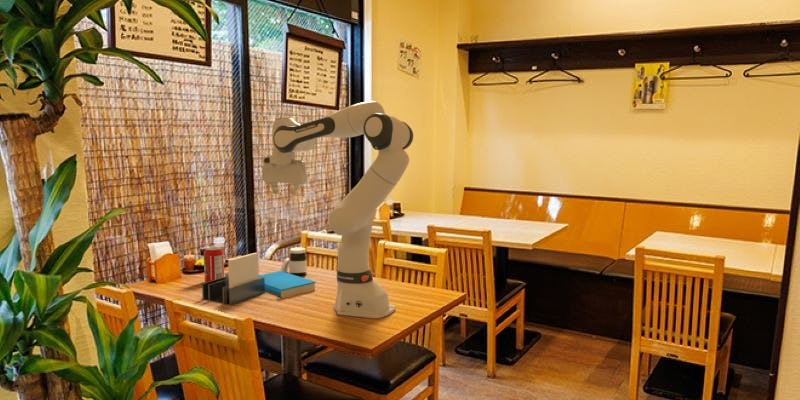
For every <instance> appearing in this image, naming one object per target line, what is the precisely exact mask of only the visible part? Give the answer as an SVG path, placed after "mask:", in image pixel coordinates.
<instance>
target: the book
mask: <svg viewBox="0 0 800 400" xmlns="http://www.w3.org/2000/svg"><path fill="white" fill-rule="evenodd" d="M263 277H264V280H265V292H266V291H267V292H269V293H272V294H274V295H277V296H276V298H279V299H285V298H289V297H293V296H296V295H302V294H304V293H309V292H314V291H315V290H316V281H315V280H311V279H308V278H305V277H303V276H296V275H292V274H290V272H283V271H281V270H279V271H275V272H268V273H265V274H259V279H260V278H263Z"/></svg>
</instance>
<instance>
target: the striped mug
mask: <svg viewBox="0 0 800 400" xmlns="http://www.w3.org/2000/svg"><path fill="white" fill-rule="evenodd" d="M307 267H308V266H307V253H306V248H305V247H300V246H299V247H298V246H297V247H291V248H290V249H289V255H288V257H287V258H286V259H284V261H283V263H282V265H281V268H280V269H281V270H280V271H283V272H286V273H288V271H289V274H292V275H296V276H299V277H303V276H306V274H307V272H308V271H307V269H308V268H307Z"/></svg>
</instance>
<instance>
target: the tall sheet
mask: <svg viewBox="0 0 800 400" xmlns="http://www.w3.org/2000/svg"><path fill="white" fill-rule="evenodd" d="M227 263H228V264H227V267H228V272H229V289H230V288H233V287H236V286H239V285H242V284H245V283H248V282H251V281H254V280H257V279H259V275H260V271H259V268H260V267H259V264H260V263H259V252H253V253H249V254H245V255H242V256H238V257H233V258H229V259H227Z"/></svg>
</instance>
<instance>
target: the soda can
mask: <svg viewBox="0 0 800 400" xmlns="http://www.w3.org/2000/svg"><path fill="white" fill-rule="evenodd" d="M224 258H225V257H224V251H223V249H222V247H221V246H207V247H205V250H204V252H203V267H204V273H203V274H204V283H206V282H209V281H212V280H216V279H219V278H222V277H225V263H224V262H225V261H224Z"/></svg>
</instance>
